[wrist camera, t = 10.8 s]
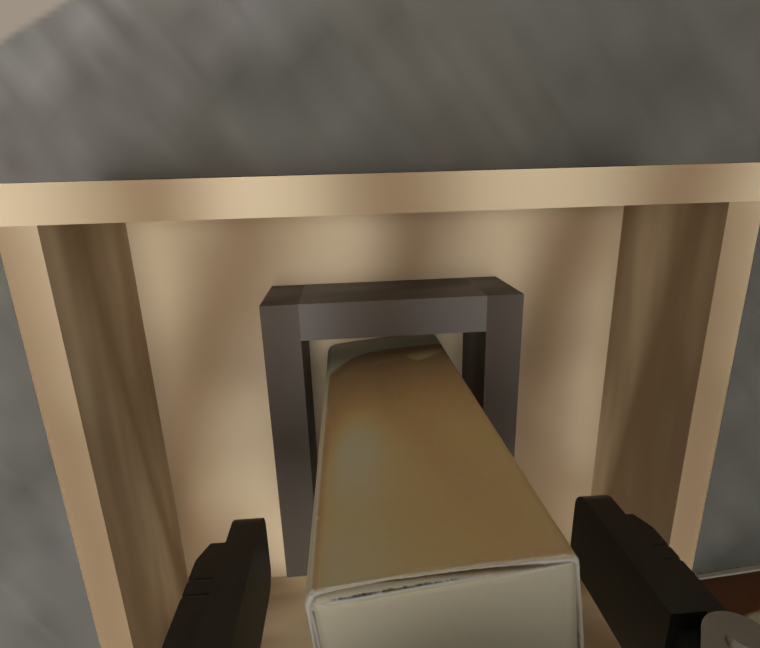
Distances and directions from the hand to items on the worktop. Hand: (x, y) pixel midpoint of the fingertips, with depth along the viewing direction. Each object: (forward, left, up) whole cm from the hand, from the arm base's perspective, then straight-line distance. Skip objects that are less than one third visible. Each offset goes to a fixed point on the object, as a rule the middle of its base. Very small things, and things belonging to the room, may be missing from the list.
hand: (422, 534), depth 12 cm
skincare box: (0, 0, -8) cm, 8 cm away
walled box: (0, 0, -9) cm, 9 cm away
